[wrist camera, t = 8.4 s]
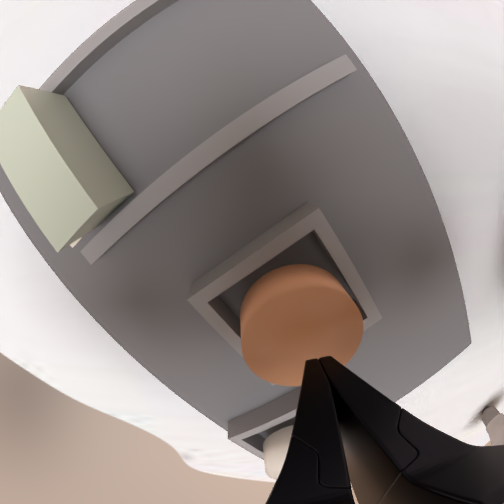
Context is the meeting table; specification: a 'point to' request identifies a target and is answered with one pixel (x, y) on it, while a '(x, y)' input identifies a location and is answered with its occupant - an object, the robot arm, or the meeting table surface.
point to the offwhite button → (276, 451)
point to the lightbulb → (494, 425)
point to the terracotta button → (297, 322)
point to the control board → (249, 201)
